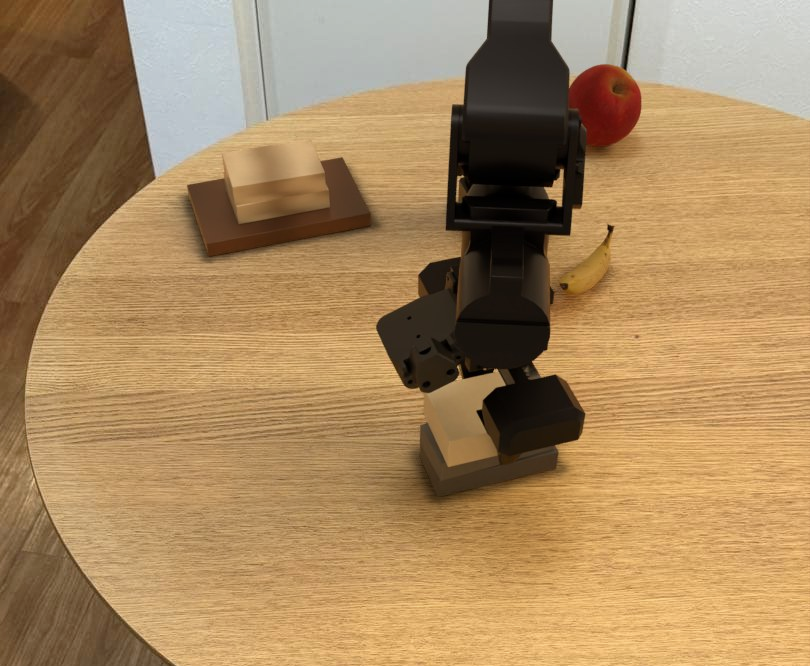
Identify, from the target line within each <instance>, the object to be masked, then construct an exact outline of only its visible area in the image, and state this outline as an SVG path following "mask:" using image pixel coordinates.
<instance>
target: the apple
mask: <svg viewBox="0 0 810 666" xmlns="http://www.w3.org/2000/svg"><path fill="white" fill-rule="evenodd" d="M569 109H578V110H579V116H582V122H581V124H582V125H583V126H584V127H585V128H586V130H587V137H586V146H589V147H607V146H612V145H615V144H616V143H618V142H620V141H622V140H623V139H624V138H626V137H627V136H628V135H629V134H630V133H631V132H632V131H633V130H634V129H635V127H636V125H637V124H638V122H639V120H640V117H641V113H642V93H641V89H640V87H639V84H638V83H637V81H636V80H635V78H633V76H632V75H631V74H630V73H629V72H628V71H627V70H626V69H624V68H623V67H621V66H618V65H614V64H610V63H609V64H607V63H602V64H596V65H593V66H591V67H589V68H586V69H585V70H583V71H582V72H580V74H578V75H577V77H575V78H574V80H573V81H572V82H571V84H570V85H569Z"/></svg>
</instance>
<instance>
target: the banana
mask: <svg viewBox="0 0 810 666" xmlns="http://www.w3.org/2000/svg"><path fill="white" fill-rule="evenodd" d="M614 229H615V225H612V224H609V223H607V224H606V230H607V235H606V236H605V238H604V239H603V242H602V243H601V244H599V246H597V247H596V248H595V250H594V251H593V252H591V254H590V255H589V256H588V257H587V258H585V259H584V260H583V261H582V262H580V263H579V264H578V265H577V266H576V267H574V269H572V270H571V271H568V272H567V273H565V274H564V275H563V276H561V277H560V278H559V279H558V282H557V285H558V286H559V288H560V289H561V291H562V292H563V293H565V295H567V296H578V295H580V294H583V293H586V292H587V291H590V290H591V289H592V288H593V287H595V285H597V284H598V283H599V281H601V279H602V278H603V277H604V276H605V274H606V272H607V271H608V269H609V266H610V264H611V263H610V262H611V256H612V254H611V253H612V252H611V241H612V237H613V232H614Z"/></svg>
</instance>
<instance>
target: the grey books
mask: <svg viewBox="0 0 810 666" xmlns="http://www.w3.org/2000/svg"><path fill="white" fill-rule="evenodd" d="M419 458H420V461H421V463H422V466H423V468H424V470H425V472H426V474H427V476H428V478H429V481H430V484H431V485H432V488H433V490H434V492H435V495H436V496H437V497H438V498H439V497H444V496H448V495H452V494H453V495H454V494H457V493H461V492H466V491H469V490H473V489H477V488H481V487H486V486H489V485H494V484H498V483H499V484H500V483H502V482H506V481H507V482H508V481H511V480H515V479H519V478H523V477H527V476H532V475H536V474H540V473H544V472H548V471H552V470H556V469H557V466H558V460H559V459H558V458H559V450H558V447H557V445H555V446H551V447H546V448H542V449H538V450H534V451H529V452H525V453H522V454H521V455H520V456H519V458H518V459H517V460H516V461H515V462H514V463H512V464H507V465H503V466H502V465H500V463H499V459H498V456H493V457H489V458H485V459H480V460H476V461H472V462H468V463H463V464H459V465H455V466H451V467H448V466H447V464H446V462H445V459H444V457H443V455H442V453H441V451H440V449H439V446H438V444H437V442H436V440H435V438H434V436H433V433H432V431H431V429H430V427H429V425H428V423H427V422H426V423H423V424H420V425H419Z"/></svg>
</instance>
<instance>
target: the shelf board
mask: <svg viewBox="0 0 810 666" xmlns="http://www.w3.org/2000/svg"><path fill="white" fill-rule="evenodd" d="M221 159H222V166H223V172H222V173H223V178H218V179H213V180H207V181H206V180H205V181H201V182H194V183H189V184H187V185H186V188H187V194H188V199H189V202H190V206H191V208H192V211H193V214H194V217H195V220H196V223H197V225H198V229H199V232H200V234H201V237H202V241H203V243H204V247H205V249H206V252H207V256H208V257H215V256H218V255H219V256H220V255H225V254H229V253H236V252H239V251H246V250H251V249H256V248H261V247H267V246H271V245H277V244H282V243H287V242H292V241H293V242H294V241H298V240H303V239H309V238H314V237H320V236H324V235H330V234H335V233H340V232H346V231H351V230H356V229H361V228H365V227H371V226H372V223H371V220H372V219H371V211H370V209H369V207H368V205H367V204H366V201H365V199H364V197H363V195H362V193H361V192H360V189H359V187H358V185H357V183H356V181H355V179H354V177H353V175H352V173H351V171H350V169H349V167H348V165H347V163H346V161H345V159H344V157H343V156H341V157H335V158H329V159H324V160H320V157H319V154H318V152H317V149H316V147H315V145H314V143H313V140H312V138H309V139H302V140H297V141H296V140H295V141H290V142H284V143H283V142H282V143H276V144H271V145H264V146H257V147H251V148H245V149H237V150H231V151H230V150H229V151H225V152H221Z"/></svg>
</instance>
